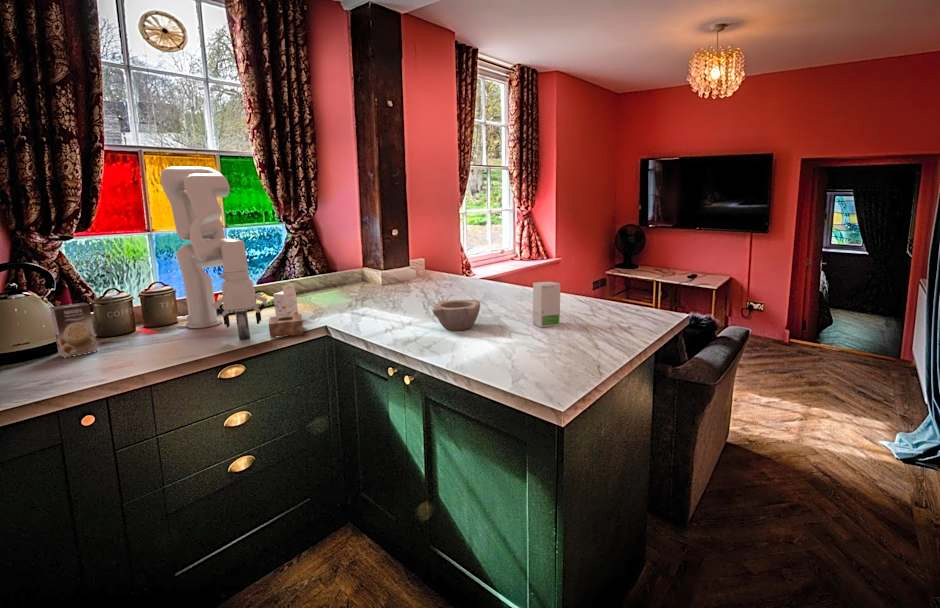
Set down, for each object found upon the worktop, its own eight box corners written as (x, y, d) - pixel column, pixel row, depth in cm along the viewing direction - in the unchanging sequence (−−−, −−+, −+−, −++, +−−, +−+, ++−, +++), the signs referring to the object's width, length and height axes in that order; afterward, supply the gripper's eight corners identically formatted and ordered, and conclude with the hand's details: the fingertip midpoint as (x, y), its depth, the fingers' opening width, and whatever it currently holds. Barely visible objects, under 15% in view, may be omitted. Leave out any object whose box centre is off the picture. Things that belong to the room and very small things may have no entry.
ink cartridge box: (287, 317, 203) (284, 282, 199) (298, 318, 202) (295, 282, 198) (275, 323, 194) (271, 286, 191) (287, 323, 193) (283, 286, 190)
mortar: (439, 321, 190) (438, 298, 188) (482, 321, 188) (482, 298, 186) (430, 334, 174) (429, 308, 172) (478, 334, 171) (477, 308, 169)
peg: (238, 340, 171) (234, 312, 169) (239, 338, 174) (235, 310, 172) (249, 339, 172) (246, 311, 170) (250, 336, 175) (247, 309, 173)
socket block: (270, 337, 174) (268, 324, 173) (271, 330, 184) (270, 317, 183) (303, 334, 177) (301, 320, 176) (302, 326, 187) (301, 314, 186)
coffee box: (63, 359, 156) (53, 309, 152) (58, 355, 160) (48, 307, 156) (98, 351, 163) (89, 304, 159) (93, 348, 167) (83, 301, 163)
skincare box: (540, 328, 177) (540, 285, 173) (531, 324, 183) (531, 282, 179) (560, 325, 180) (561, 283, 176) (551, 321, 186) (551, 280, 182)
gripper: (206, 280, 162) (214, 330, 166) (263, 275, 168) (269, 324, 171) (210, 277, 169) (217, 325, 173) (264, 272, 175) (270, 319, 178)
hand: (243, 324), depth 172 cm, fingers open, 9 cm apart
